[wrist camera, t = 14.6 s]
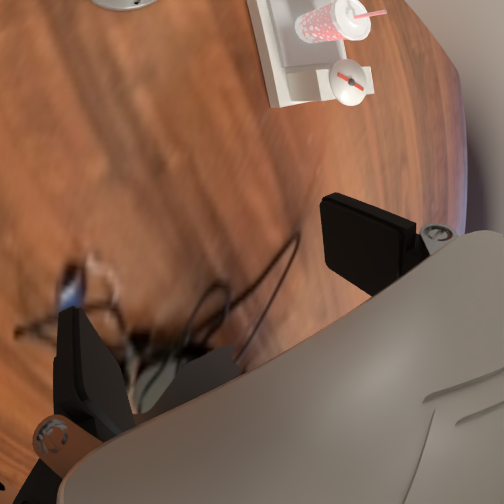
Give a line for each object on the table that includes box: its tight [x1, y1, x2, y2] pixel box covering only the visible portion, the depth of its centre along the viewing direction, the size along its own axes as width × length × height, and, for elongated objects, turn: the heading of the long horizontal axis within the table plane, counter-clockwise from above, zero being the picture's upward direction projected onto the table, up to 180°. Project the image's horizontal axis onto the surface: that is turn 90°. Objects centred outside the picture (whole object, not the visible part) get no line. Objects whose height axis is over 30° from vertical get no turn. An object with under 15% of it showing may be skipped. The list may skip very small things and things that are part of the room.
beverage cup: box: [295, 0, 387, 43], centre depth 29 cm, size 6×6×14 cm
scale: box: [247, 0, 374, 108], centre depth 35 cm, size 19×14×10 cm
